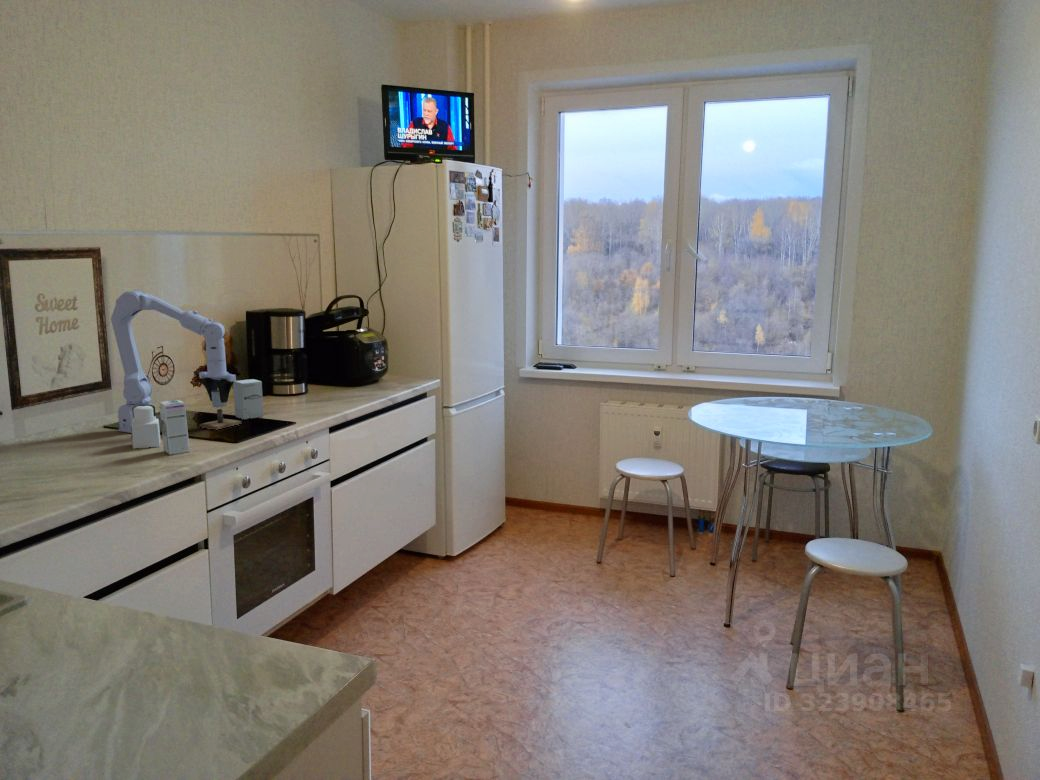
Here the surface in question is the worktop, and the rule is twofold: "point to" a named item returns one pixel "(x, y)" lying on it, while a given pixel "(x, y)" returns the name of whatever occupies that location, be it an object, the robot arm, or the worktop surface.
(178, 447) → the syrup box
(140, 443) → the medicine bottle
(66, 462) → the worktop surface
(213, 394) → the tube
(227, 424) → the shaft block
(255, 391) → the supplement box
